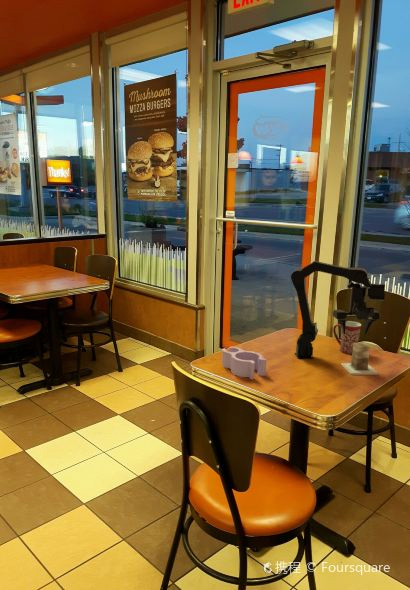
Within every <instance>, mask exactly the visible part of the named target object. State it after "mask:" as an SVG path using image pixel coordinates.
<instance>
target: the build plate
mask: <svg viewBox="0 0 410 590" xmlns="http://www.w3.org/2000/svg"><path fill="white" fill-rule="evenodd" d="M341 366H342V367H343V368H344V369H345V370H346V371H347V372H348V374H350V375H351V376H355V375H356V376H357V375H359V376H362V375H368V376H370V375H371V376H373V375H375V376H376V375H377V376H378V375H379V372H378V371H377V370H375V368H374V367H372V366H371V365H369V364H368V370H355V369H354V368H353V367H352V366H351V362H342V363H341Z"/></svg>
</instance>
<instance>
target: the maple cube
mask: <svg viewBox="0 0 410 590" xmlns="http://www.w3.org/2000/svg"><path fill="white" fill-rule="evenodd" d="M370 349H371V346H370V345H369V344H368V343H366V342H358V343H353V351H352V354H353V355H354V356H355V357H356V358H369V359H370V352H371V351H370ZM352 354H351V355H352Z"/></svg>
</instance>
